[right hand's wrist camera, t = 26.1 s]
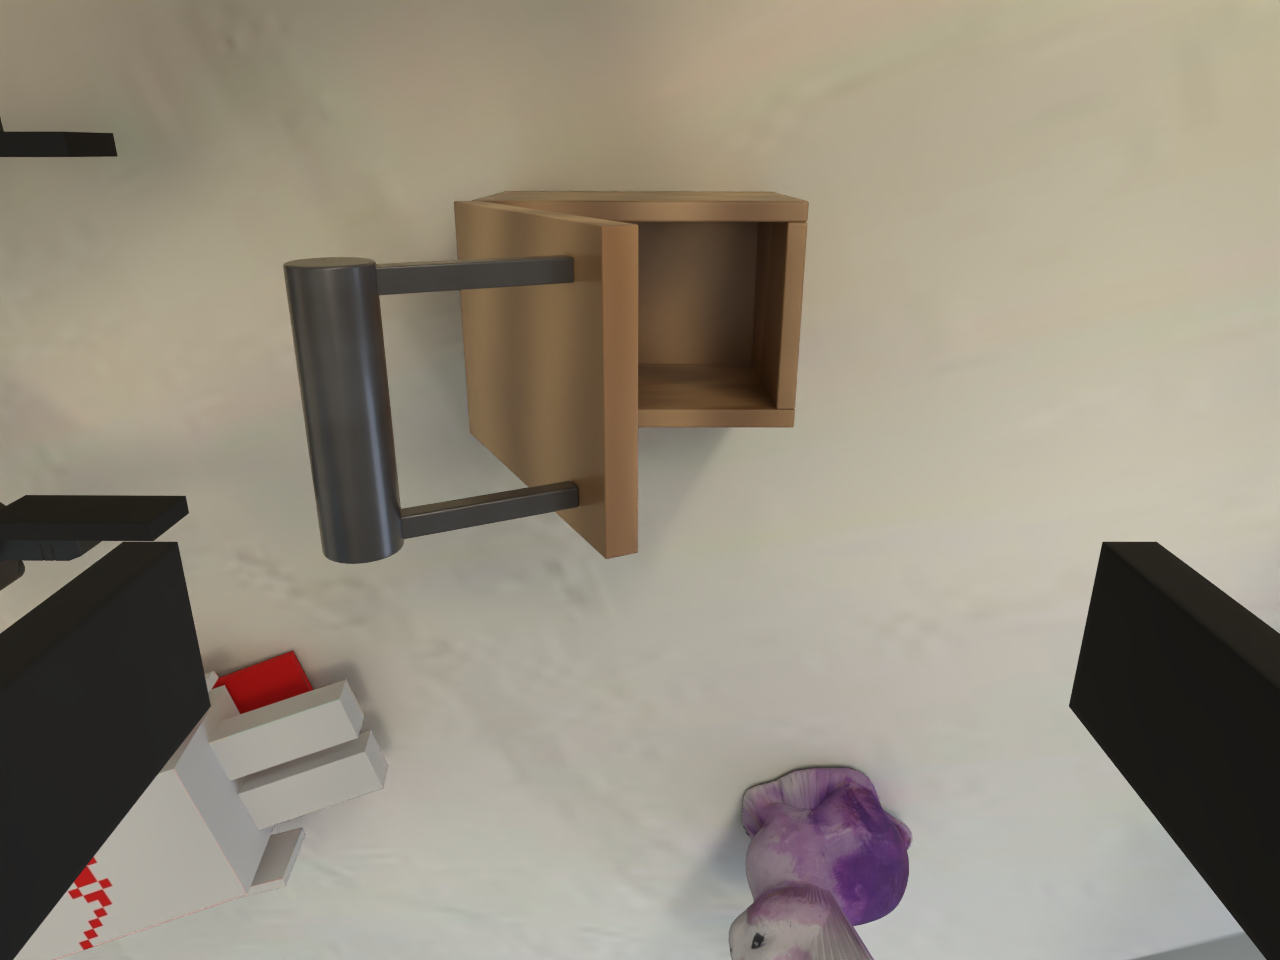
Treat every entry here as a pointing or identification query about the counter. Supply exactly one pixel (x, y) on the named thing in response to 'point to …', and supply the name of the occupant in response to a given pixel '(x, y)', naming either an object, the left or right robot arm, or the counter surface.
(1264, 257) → the counter surface
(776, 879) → the figurine
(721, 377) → the chest
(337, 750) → the toy
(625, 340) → the lid
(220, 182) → the counter surface
